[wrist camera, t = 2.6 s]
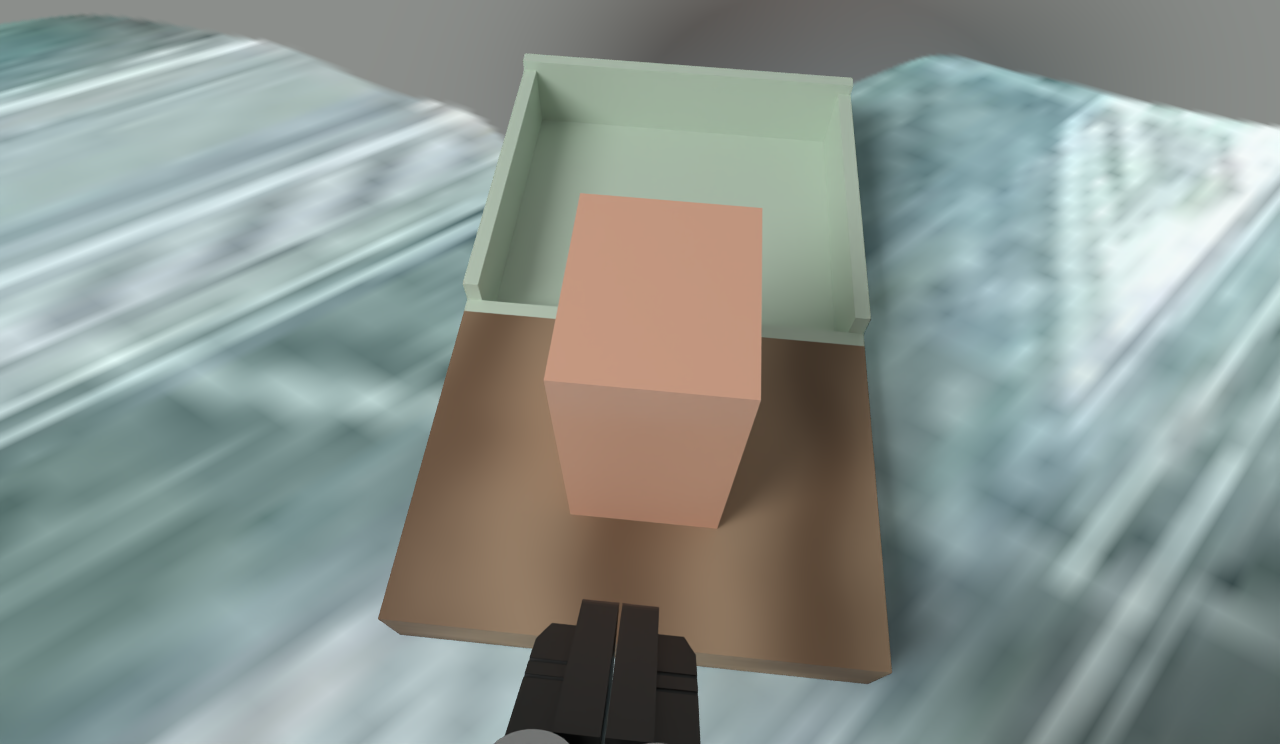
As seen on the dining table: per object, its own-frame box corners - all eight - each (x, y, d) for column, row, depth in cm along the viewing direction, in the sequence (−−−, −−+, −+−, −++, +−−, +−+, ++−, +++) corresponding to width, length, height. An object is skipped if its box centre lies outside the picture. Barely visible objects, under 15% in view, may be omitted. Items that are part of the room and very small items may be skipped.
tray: (831, 143, 37) (852, 78, 34) (847, 378, 30) (875, 324, 26) (534, 120, 38) (525, 53, 34) (475, 344, 30) (456, 287, 27)
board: (847, 378, 30) (864, 346, 28) (867, 683, 24) (891, 672, 21) (475, 344, 30) (464, 310, 28) (400, 634, 24) (378, 619, 22)
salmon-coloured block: (723, 376, 27) (762, 207, 19) (717, 528, 24) (761, 400, 16) (593, 365, 27) (579, 193, 19) (570, 514, 24) (543, 380, 16)
